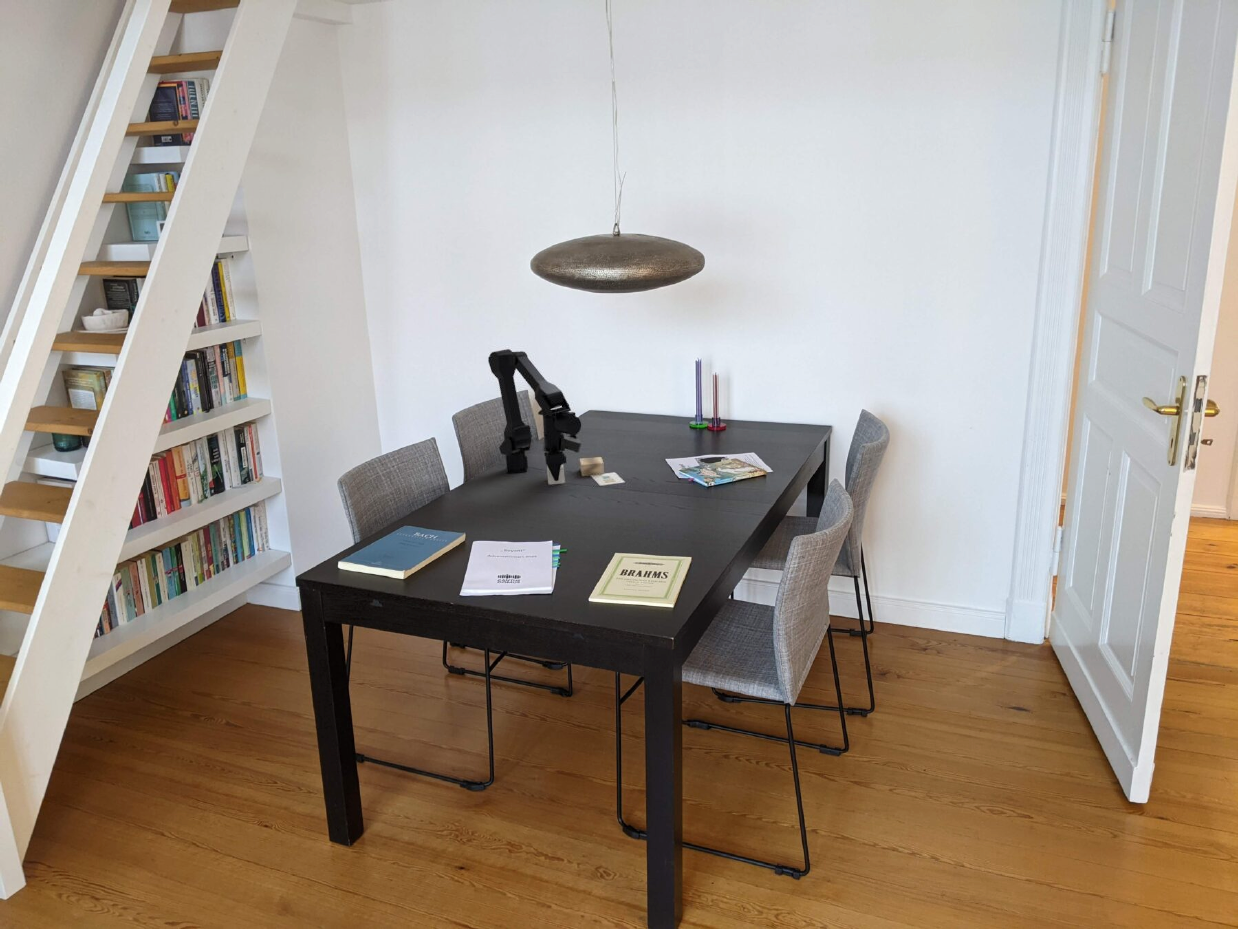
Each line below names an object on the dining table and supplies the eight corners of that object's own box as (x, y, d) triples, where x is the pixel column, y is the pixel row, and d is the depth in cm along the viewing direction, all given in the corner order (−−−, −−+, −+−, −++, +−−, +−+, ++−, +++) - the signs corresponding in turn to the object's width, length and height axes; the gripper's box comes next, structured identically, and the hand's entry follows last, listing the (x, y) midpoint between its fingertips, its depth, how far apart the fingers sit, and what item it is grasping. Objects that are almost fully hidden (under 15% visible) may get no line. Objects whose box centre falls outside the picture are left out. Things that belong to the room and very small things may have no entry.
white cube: (548, 484, 294) (547, 469, 292) (547, 479, 298) (546, 464, 297) (564, 483, 294) (563, 467, 293) (563, 478, 299) (562, 463, 298)
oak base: (582, 476, 301) (581, 464, 300) (580, 470, 307) (579, 458, 306) (604, 475, 301) (603, 463, 300) (601, 468, 308) (601, 457, 307)
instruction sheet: (600, 485, 290) (600, 485, 290) (590, 476, 300) (590, 475, 300) (625, 482, 292) (625, 481, 292) (614, 472, 302) (614, 472, 302)
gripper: (581, 435, 284) (584, 485, 288) (576, 420, 301) (579, 467, 306) (544, 438, 282) (547, 488, 287) (541, 423, 300) (544, 470, 305)
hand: (556, 478), depth 296 cm, fingers closed on white cube, 5 cm apart
